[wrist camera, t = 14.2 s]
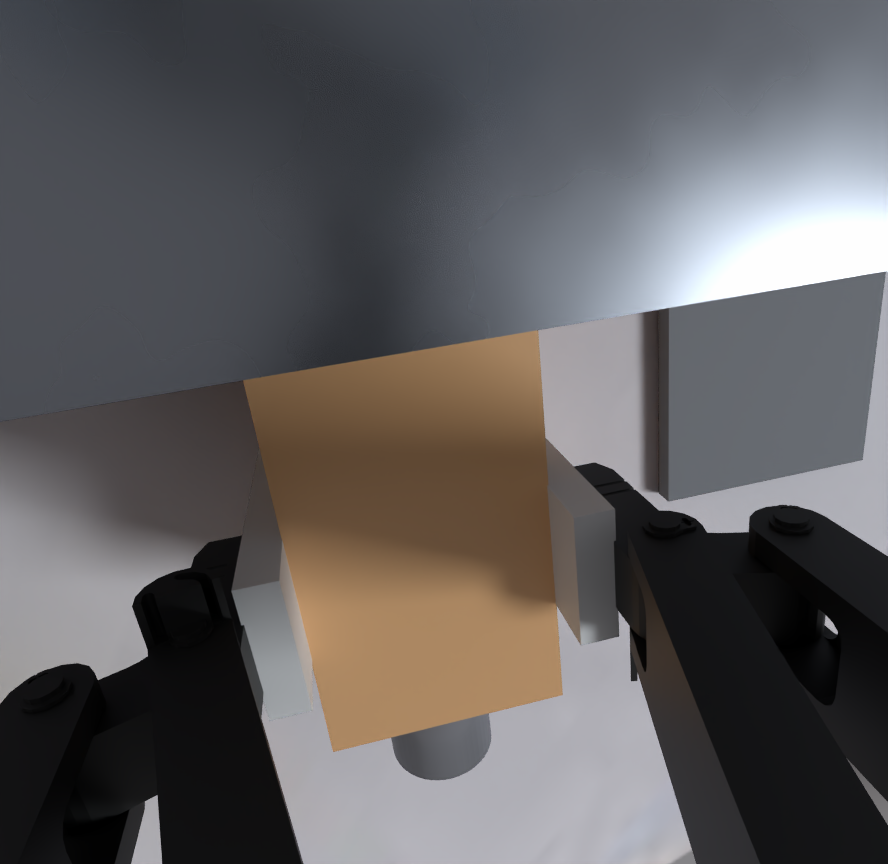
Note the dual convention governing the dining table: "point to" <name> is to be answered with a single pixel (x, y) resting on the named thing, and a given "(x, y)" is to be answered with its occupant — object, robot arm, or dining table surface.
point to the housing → (411, 175)
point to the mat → (765, 384)
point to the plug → (418, 541)
